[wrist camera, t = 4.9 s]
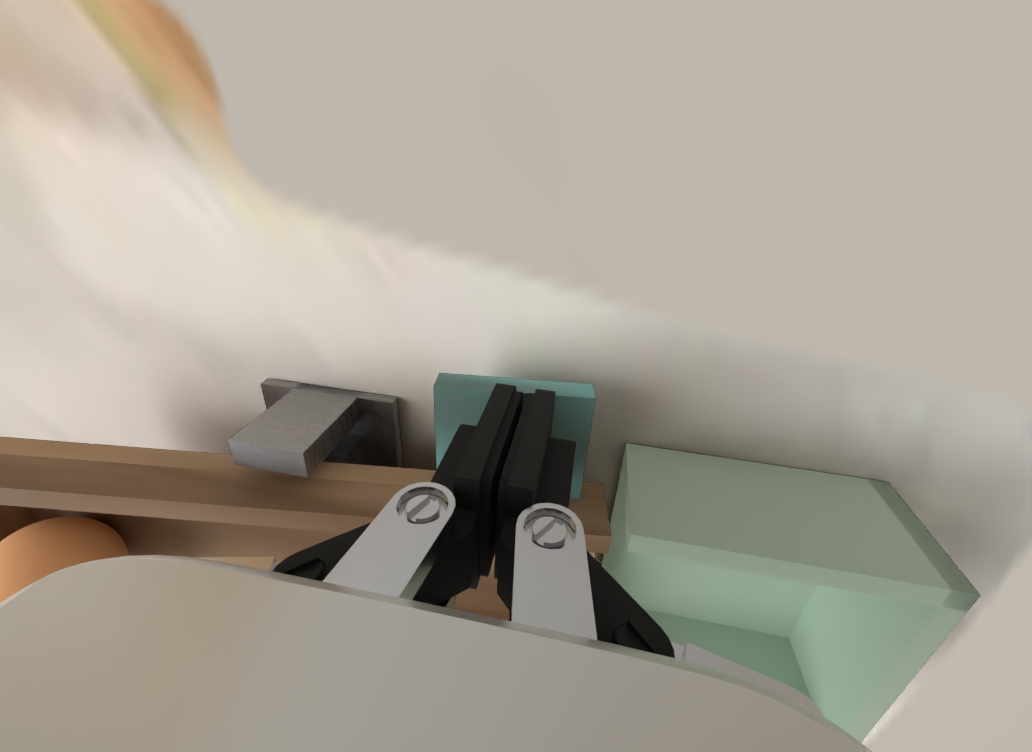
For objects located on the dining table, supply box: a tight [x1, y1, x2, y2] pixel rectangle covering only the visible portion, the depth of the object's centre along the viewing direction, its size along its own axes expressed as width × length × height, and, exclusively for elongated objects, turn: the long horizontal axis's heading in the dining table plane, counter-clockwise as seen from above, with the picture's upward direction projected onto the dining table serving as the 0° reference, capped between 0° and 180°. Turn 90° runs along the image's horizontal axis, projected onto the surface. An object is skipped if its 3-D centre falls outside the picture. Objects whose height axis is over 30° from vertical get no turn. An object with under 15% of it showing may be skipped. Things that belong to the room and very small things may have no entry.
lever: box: [0, 373, 612, 621], centre depth 15 cm, size 10×20×2 cm, turn 87°
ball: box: [0, 517, 128, 603], centre depth 14 cm, size 4×4×4 cm
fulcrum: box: [228, 379, 403, 478], centre depth 17 cm, size 9×5×4 cm, turn 177°
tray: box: [601, 443, 981, 743], centre depth 15 cm, size 8×8×4 cm
